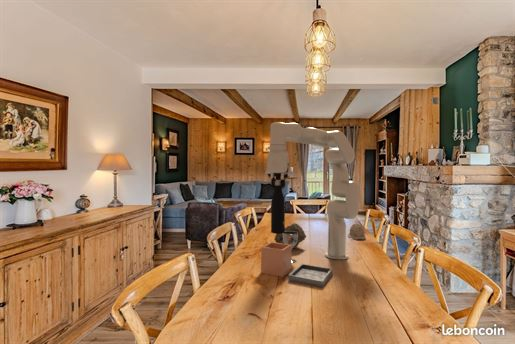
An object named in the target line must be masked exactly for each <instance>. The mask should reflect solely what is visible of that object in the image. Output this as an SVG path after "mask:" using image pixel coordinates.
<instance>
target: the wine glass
mask: <svg viewBox="0 0 515 344" xmlns="http://www.w3.org/2000/svg"><path fill="white" fill-rule="evenodd" d="M297 239H298V232H295V231H285V233H283V241H284V244H289V245H292V249H294V248H293V247H294V246H295V245H296V243H297ZM296 263H297V260H296V259H294V258H292V263H291V264H296Z"/></svg>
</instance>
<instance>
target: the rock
mask: <svg viewBox="0 0 515 344" xmlns="http://www.w3.org/2000/svg"><path fill="white" fill-rule="evenodd" d="M285 231H295V232H298V239H297V243H296V245H295V246H294V247H293V248H292V249H296V248H297V247H298V246H299V244H300V243H302V242H303V241H305V240H306V237H307V235H306V234H305V230H303V227H302V226H301V225H299V224H298V223H296V222H294V223H291V224H290V225H287V226H286V227H285ZM273 241H275V243H282V244H284V241H283V233H282V234H275V236H274V239H273Z"/></svg>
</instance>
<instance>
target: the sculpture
mask: <svg viewBox="0 0 515 344" xmlns="http://www.w3.org/2000/svg"><path fill="white" fill-rule="evenodd" d="M347 237H348V238H349V239H350V238H353V239H352V240H356V239H362V240H365V239H366V234H365V229H364V227H363V225H362V224H360V223H353V224H352V225H351V226H350V228H349V233H347ZM364 238H365V239H364Z"/></svg>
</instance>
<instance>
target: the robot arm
mask: <svg viewBox="0 0 515 344" xmlns="http://www.w3.org/2000/svg"><path fill="white" fill-rule="evenodd" d="M269 136H270V142H269V143H270V145H269V146H268V147H267V150H268V153H267V159H266V169H265V170H264V174H265V175H267V176H268V177H269V179H270V182H271V184H270V186H271V188H272V189H274V185H275V181H277V180H275V179H276V176H274V173H281V180H280V181H281V188H282V189H285V187H286V179H287V178H288V177H289V176H291V175H292V174H293V172H292V170H291V168H290V157H289V152H288V151H287V142H289V143H297V144H305V145H312V146H317V147H320V148H329V149H327V150H325V153H324V156H325V160H326V161H327V163H328V164H329V166H330V167H331V170H332V180H331V188H330V191H331V195H332V196H334V197H336V198H340V199H331V200H329V201H328V203H327V204H326V214H327V220H328V222H327V224H328V225H327V226H328V229H327V251H326V252H324V257H326V258H328V259H332V260H341V261H342V260H347V259H349V254H348V253H346V251H347V250H346V248H347V247H346V244H347V238H346V237H347V224H346V221H345V219H346V220H354V219H355V218H357V216H358V214H359V210H360V209H359V208H360V200H361V199H360V198H361V187H360V185H359V183H358V182H356V181H354V180H349V168H348V166H347V165H348V164H351V163H353V162H354V160H355V158H356V154H355V151H354V149H353V147H352V145H351V143H350V141H349V140H348V138H347V136H346V135H345V134H344V133H343V132H342V131H341V130H330V131H327V130H323V129H319V128H316V127H302V125H300V123H296V122H289V123H287V122H286V123H285V122H281V121H278V122H272V123H271V124H270V135H269ZM341 198H342V199H341ZM344 199H345V200H344Z"/></svg>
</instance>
